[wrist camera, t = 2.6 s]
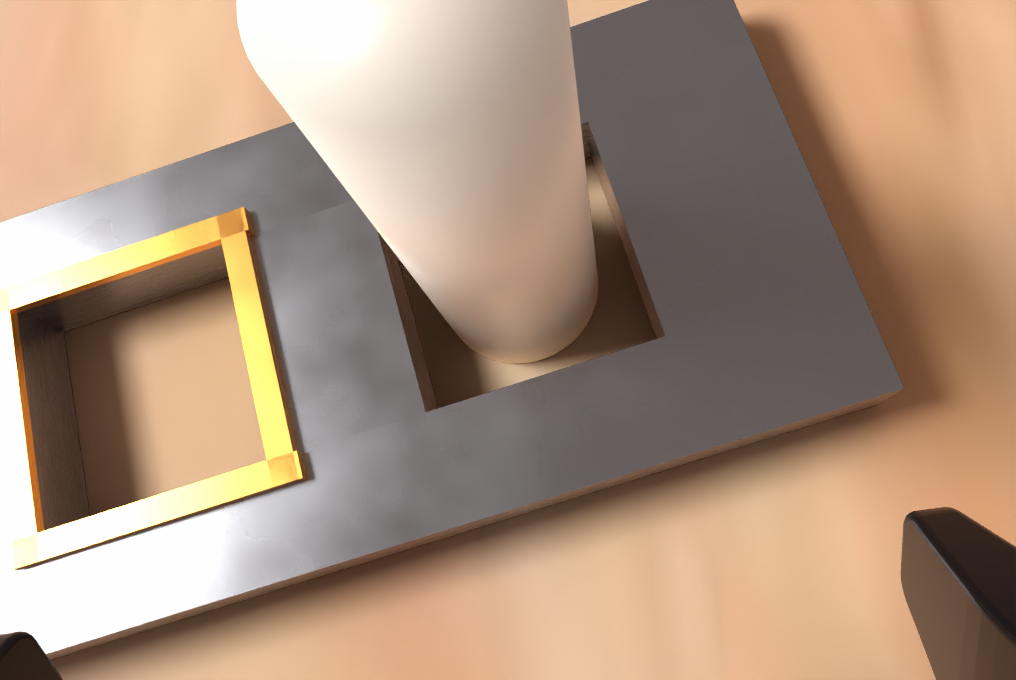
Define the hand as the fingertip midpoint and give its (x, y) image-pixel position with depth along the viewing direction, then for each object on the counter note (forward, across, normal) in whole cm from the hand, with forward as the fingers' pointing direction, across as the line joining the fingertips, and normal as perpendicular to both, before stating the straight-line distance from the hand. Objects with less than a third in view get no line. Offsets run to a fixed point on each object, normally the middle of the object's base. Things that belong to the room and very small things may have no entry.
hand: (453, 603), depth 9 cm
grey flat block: (+14, +5, +4) cm, 16 cm away
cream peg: (+15, 0, +4) cm, 16 cm away
